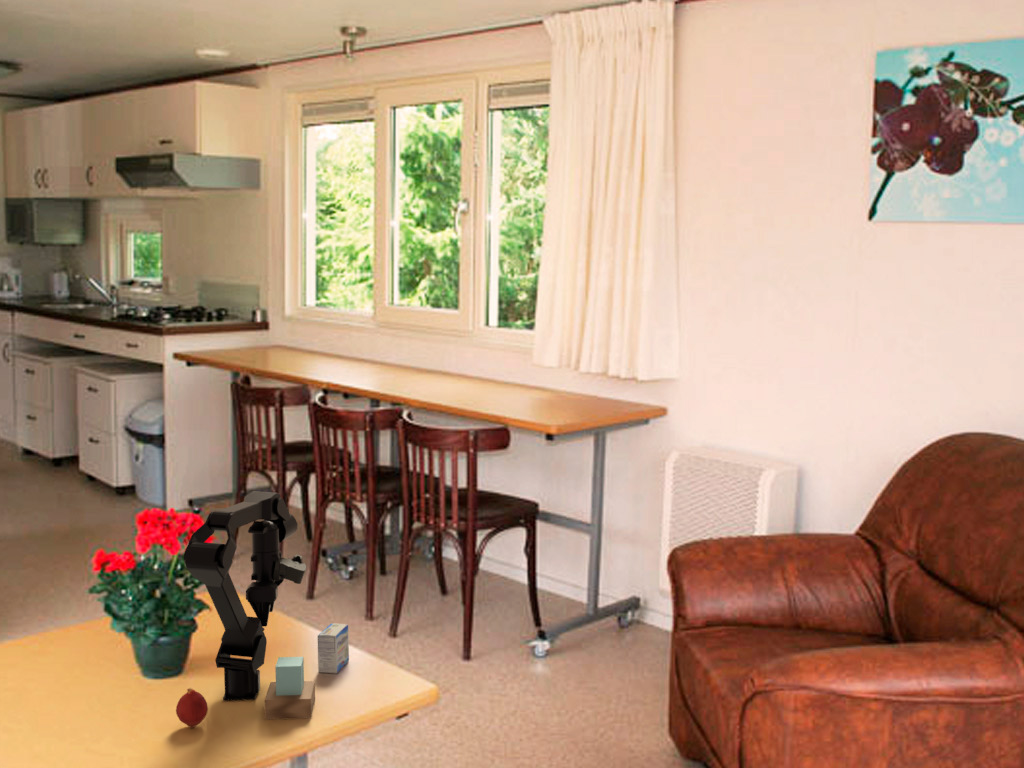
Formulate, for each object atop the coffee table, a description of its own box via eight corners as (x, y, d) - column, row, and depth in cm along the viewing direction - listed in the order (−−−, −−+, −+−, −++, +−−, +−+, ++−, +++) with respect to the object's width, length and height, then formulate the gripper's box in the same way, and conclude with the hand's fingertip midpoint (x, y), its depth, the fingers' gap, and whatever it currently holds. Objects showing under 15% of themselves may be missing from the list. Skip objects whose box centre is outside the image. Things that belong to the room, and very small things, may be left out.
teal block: (276, 695, 222) (275, 666, 222) (279, 685, 227) (278, 657, 226) (301, 694, 223) (300, 666, 222) (304, 684, 228) (303, 656, 227)
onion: (196, 718, 221) (195, 679, 220) (214, 726, 218) (213, 687, 216) (171, 727, 217) (169, 688, 216) (188, 736, 213) (187, 696, 212)
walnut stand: (264, 719, 221) (264, 700, 220) (270, 700, 230) (270, 681, 229) (311, 718, 221) (310, 698, 221) (315, 699, 230) (314, 680, 230)
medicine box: (337, 674, 244) (336, 636, 242) (317, 672, 244) (317, 634, 243) (349, 661, 251) (348, 623, 250) (330, 659, 252) (330, 622, 251)
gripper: (299, 560, 232) (300, 633, 235) (307, 537, 251) (308, 604, 253) (244, 561, 232) (246, 634, 234) (257, 537, 250) (258, 605, 252)
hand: (267, 618), depth 243 cm, fingers open, 9 cm apart
